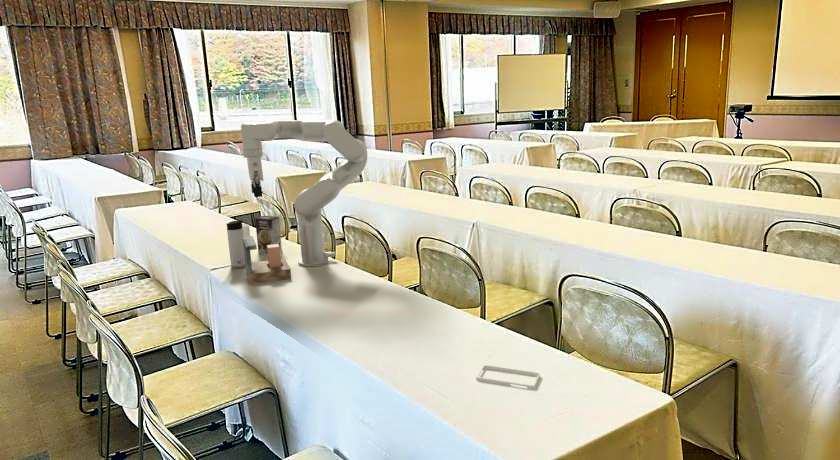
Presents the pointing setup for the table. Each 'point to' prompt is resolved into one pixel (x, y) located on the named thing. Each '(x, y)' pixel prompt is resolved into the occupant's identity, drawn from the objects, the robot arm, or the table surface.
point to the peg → (274, 255)
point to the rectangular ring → (507, 381)
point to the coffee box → (267, 232)
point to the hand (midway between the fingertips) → (257, 194)
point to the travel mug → (236, 244)
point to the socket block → (262, 266)
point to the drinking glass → (246, 230)
